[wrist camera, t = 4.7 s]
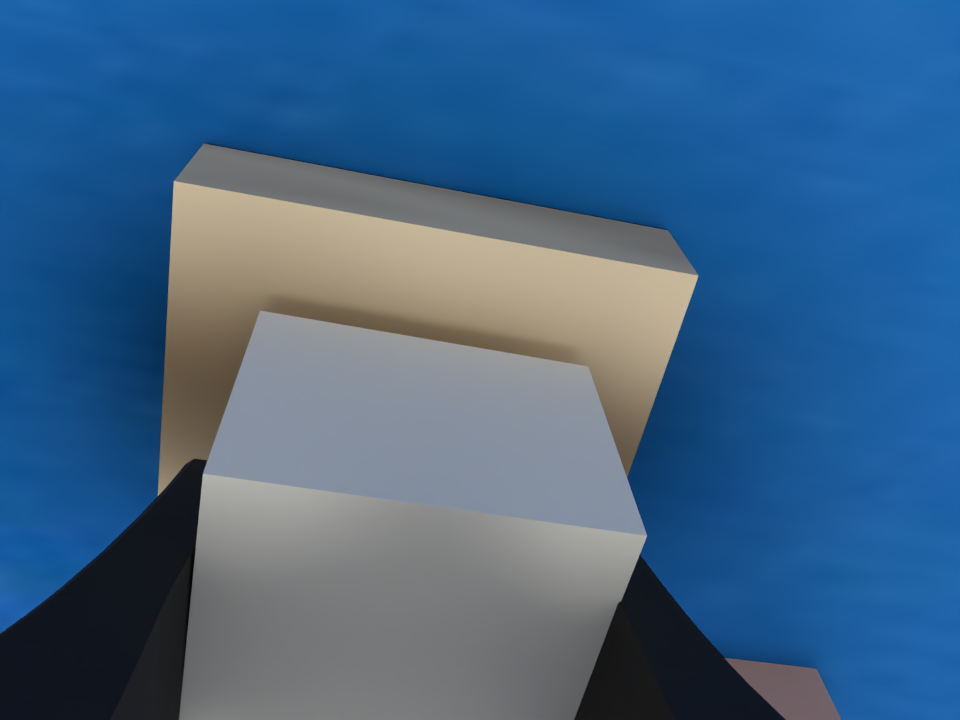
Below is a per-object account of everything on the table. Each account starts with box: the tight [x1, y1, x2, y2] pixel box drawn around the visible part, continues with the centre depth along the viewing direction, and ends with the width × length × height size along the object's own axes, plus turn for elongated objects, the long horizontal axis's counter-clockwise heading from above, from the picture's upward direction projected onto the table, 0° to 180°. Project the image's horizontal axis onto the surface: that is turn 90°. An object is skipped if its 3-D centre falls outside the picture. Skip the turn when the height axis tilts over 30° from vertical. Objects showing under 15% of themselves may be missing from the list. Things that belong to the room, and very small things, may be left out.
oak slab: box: [158, 144, 699, 496], centre depth 16 cm, size 8×8×2 cm
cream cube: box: [179, 311, 647, 720], centre depth 13 cm, size 5×5×4 cm
